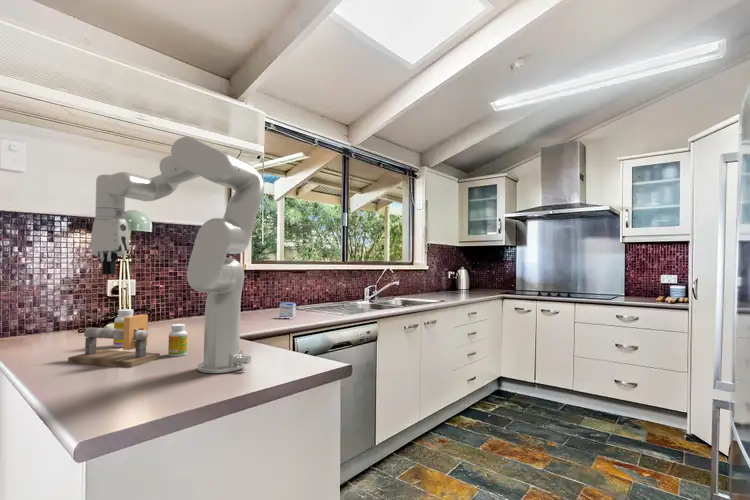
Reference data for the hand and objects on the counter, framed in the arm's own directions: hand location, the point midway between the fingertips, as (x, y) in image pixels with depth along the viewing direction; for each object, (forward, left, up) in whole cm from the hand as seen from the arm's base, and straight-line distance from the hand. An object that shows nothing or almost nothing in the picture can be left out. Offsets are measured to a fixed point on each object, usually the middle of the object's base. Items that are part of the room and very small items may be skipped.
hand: (108, 274), depth 122 cm
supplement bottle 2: (-16, -11, -26) cm, 33 cm away
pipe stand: (-3, 0, -26) cm, 26 cm away
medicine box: (-15, -99, -26) cm, 104 cm away
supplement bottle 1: (+11, -18, -26) cm, 34 cm away
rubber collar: (-10, 0, -22) cm, 24 cm away
